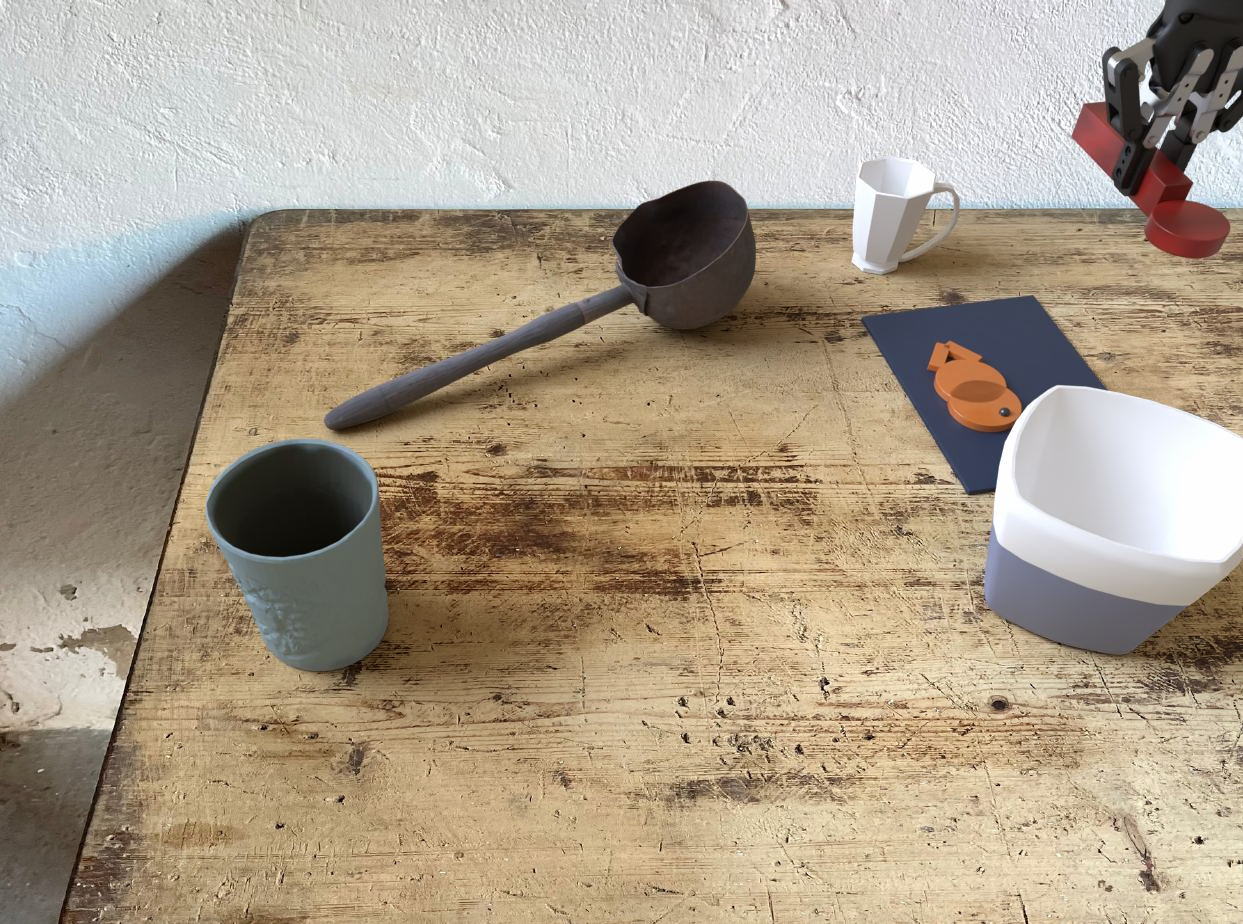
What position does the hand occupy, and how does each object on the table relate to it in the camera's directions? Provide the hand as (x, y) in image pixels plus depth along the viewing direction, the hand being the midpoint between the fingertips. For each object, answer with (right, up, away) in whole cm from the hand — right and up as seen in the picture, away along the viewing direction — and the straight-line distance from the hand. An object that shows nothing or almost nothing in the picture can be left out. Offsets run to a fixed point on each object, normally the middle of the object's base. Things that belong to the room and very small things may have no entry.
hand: (1141, 187), depth 82 cm
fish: (-10, -12, +9) cm, 18 cm away
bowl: (-7, -30, -3) cm, 31 cm away
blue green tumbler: (-58, -32, -6) cm, 67 cm away
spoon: (0, -1, 0) cm, 1 cm away
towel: (-7, -12, +9) cm, 17 cm away
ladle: (-44, -10, +11) cm, 46 cm away
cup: (-12, +2, +20) cm, 24 cm away
